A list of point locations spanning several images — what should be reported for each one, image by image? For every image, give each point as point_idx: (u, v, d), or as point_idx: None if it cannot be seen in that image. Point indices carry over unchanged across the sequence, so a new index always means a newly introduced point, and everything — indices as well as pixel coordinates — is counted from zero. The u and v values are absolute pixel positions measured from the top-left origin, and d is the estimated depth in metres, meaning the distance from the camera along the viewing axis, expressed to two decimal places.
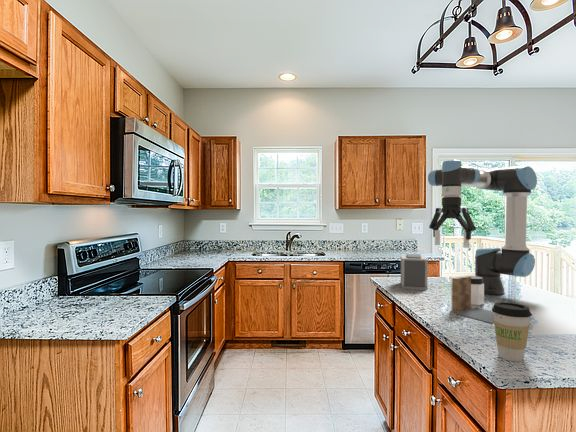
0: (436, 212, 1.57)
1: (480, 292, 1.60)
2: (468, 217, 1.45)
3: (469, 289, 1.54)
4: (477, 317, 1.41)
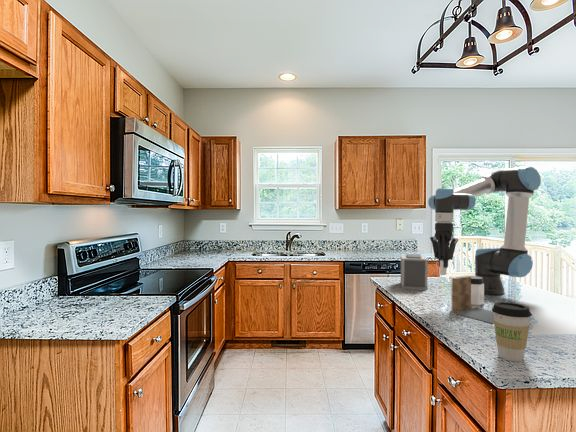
0: (432, 241, 1.64)
1: (480, 292, 1.60)
2: (452, 248, 1.56)
3: (469, 289, 1.54)
4: (477, 317, 1.41)
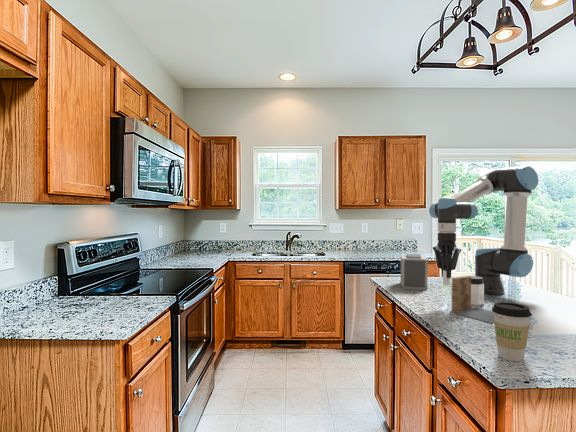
0: (435, 250, 1.63)
1: (480, 292, 1.60)
2: (455, 258, 1.55)
3: (469, 289, 1.54)
4: (477, 317, 1.41)
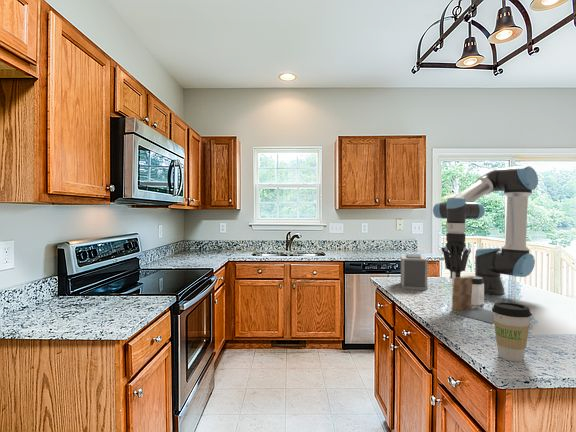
0: (443, 251, 1.59)
1: (480, 292, 1.60)
2: (465, 259, 1.51)
3: (470, 289, 1.54)
4: (477, 317, 1.41)
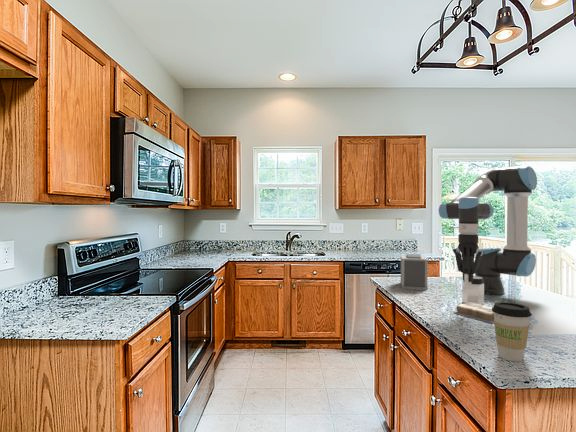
0: (455, 253, 1.54)
1: (480, 292, 1.60)
2: (478, 261, 1.46)
3: None
4: (477, 317, 1.41)
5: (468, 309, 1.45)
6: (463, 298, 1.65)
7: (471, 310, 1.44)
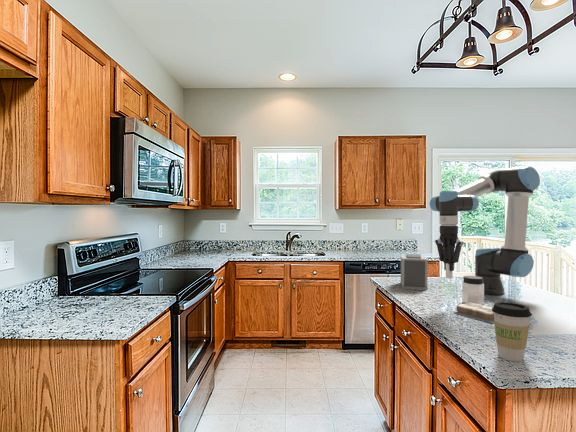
0: (437, 244, 1.62)
1: (480, 292, 1.60)
2: (458, 251, 1.54)
3: None
4: (477, 317, 1.41)
5: (468, 309, 1.45)
6: (463, 298, 1.65)
7: (471, 310, 1.44)
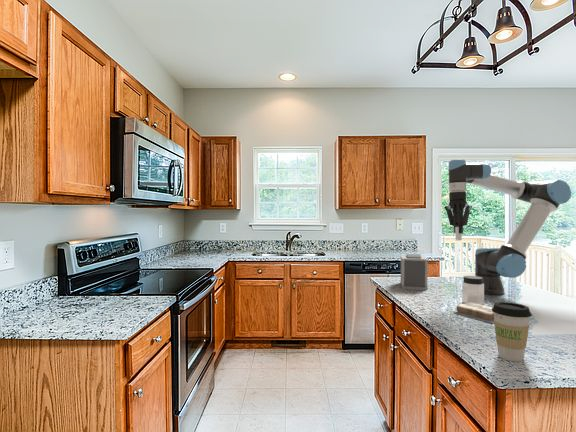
0: (447, 209, 1.75)
1: (480, 292, 1.60)
2: (467, 214, 1.68)
3: None
4: (477, 317, 1.41)
5: (468, 309, 1.45)
6: (463, 298, 1.65)
7: (471, 310, 1.44)
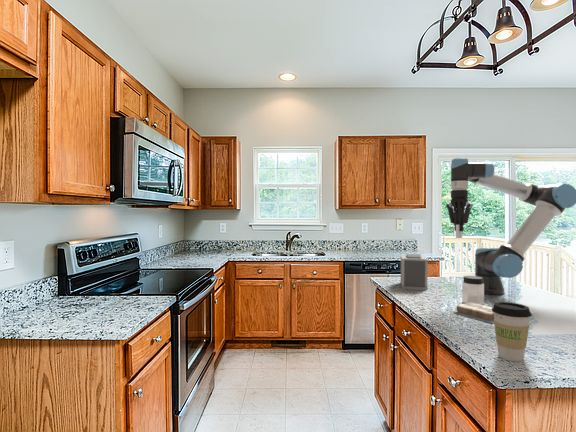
0: (448, 207, 1.78)
1: (480, 292, 1.60)
2: (467, 212, 1.70)
3: None
4: (477, 317, 1.41)
5: (468, 309, 1.45)
6: (463, 298, 1.65)
7: (471, 310, 1.44)
